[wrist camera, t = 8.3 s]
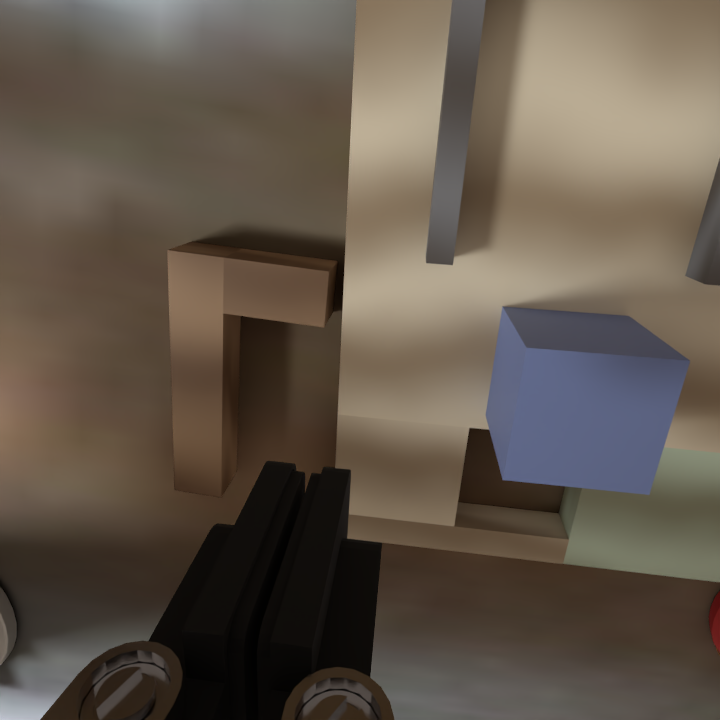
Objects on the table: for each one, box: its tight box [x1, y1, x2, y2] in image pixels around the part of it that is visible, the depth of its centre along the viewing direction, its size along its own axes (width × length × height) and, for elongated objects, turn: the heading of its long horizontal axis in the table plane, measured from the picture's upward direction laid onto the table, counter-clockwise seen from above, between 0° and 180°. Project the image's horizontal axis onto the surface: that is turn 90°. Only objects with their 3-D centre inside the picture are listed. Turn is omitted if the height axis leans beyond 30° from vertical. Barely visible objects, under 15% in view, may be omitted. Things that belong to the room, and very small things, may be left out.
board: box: [335, 0, 720, 582], centre depth 21 cm, size 25×19×4 cm
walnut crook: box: [167, 242, 338, 497], centre depth 24 cm, size 12×7×2 cm, turn 174°
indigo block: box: [486, 306, 690, 495], centre depth 19 cm, size 5×5×5 cm
